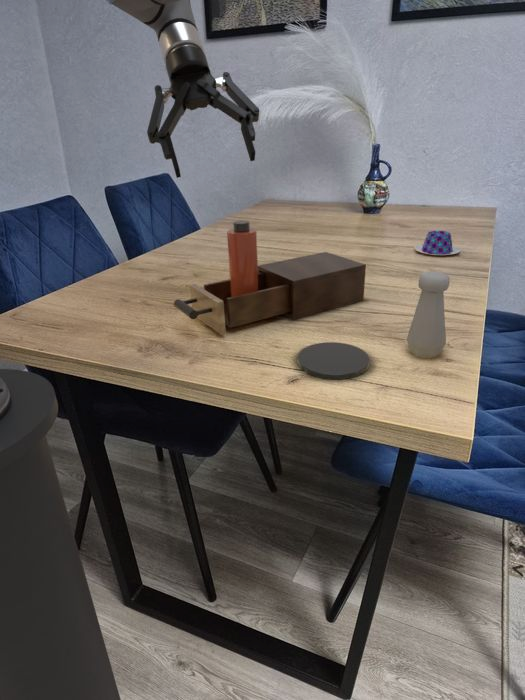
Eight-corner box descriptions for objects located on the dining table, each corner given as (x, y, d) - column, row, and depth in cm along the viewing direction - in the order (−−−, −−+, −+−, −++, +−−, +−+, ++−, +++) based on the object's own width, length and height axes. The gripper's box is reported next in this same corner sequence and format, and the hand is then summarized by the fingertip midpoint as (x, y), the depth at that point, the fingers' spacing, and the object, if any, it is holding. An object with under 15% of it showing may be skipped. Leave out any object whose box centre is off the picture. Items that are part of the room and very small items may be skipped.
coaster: (285, 370, 71) (285, 365, 70) (313, 341, 79) (313, 337, 79) (356, 386, 66) (356, 381, 66) (377, 354, 75) (378, 349, 74)
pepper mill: (226, 310, 88) (220, 223, 81) (240, 301, 92) (236, 218, 85) (250, 314, 86) (246, 226, 79) (263, 305, 90) (261, 220, 83)
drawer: (197, 340, 79) (193, 308, 77) (171, 319, 88) (167, 289, 85) (297, 313, 89) (297, 283, 86) (265, 296, 98) (264, 269, 95)
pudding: (462, 258, 122) (466, 238, 120) (414, 256, 125) (416, 236, 123) (457, 247, 133) (460, 228, 130) (413, 245, 136) (415, 227, 133)
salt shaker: (440, 345, 77) (452, 268, 71) (447, 362, 72) (460, 279, 66) (403, 344, 78) (412, 267, 72) (407, 359, 73) (417, 278, 67)
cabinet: (293, 320, 88) (293, 281, 85) (258, 301, 98) (257, 265, 95) (363, 300, 96) (366, 264, 93) (324, 285, 106) (325, 251, 103)
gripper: (250, 63, 91) (281, 161, 88) (121, 88, 88) (149, 191, 85) (252, 30, 83) (286, 137, 80) (112, 57, 80) (142, 168, 78)
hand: (215, 165), depth 83 cm, fingers open, 13 cm apart
